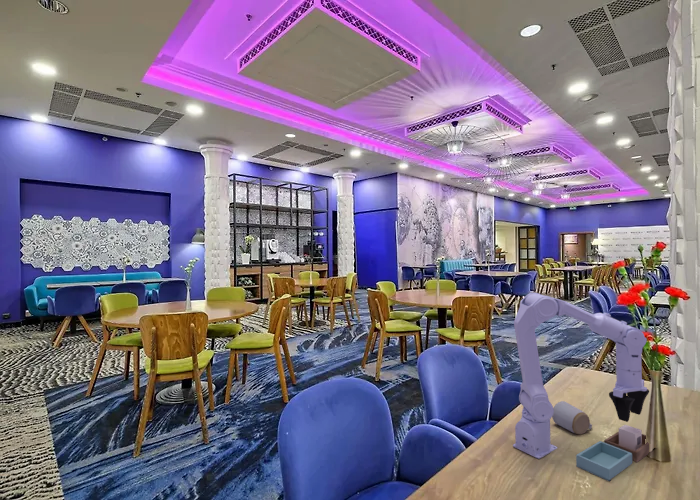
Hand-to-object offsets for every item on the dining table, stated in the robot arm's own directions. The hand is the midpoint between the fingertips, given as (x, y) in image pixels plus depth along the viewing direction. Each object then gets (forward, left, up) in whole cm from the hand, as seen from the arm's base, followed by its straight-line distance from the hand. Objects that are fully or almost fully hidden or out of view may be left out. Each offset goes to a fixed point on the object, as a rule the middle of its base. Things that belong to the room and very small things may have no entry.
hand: (629, 416), depth 104 cm
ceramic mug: (0, +15, -10) cm, 18 cm away
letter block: (0, 0, -9) cm, 9 cm away
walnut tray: (0, 0, -9) cm, 9 cm away
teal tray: (-14, +1, -9) cm, 17 cm away
